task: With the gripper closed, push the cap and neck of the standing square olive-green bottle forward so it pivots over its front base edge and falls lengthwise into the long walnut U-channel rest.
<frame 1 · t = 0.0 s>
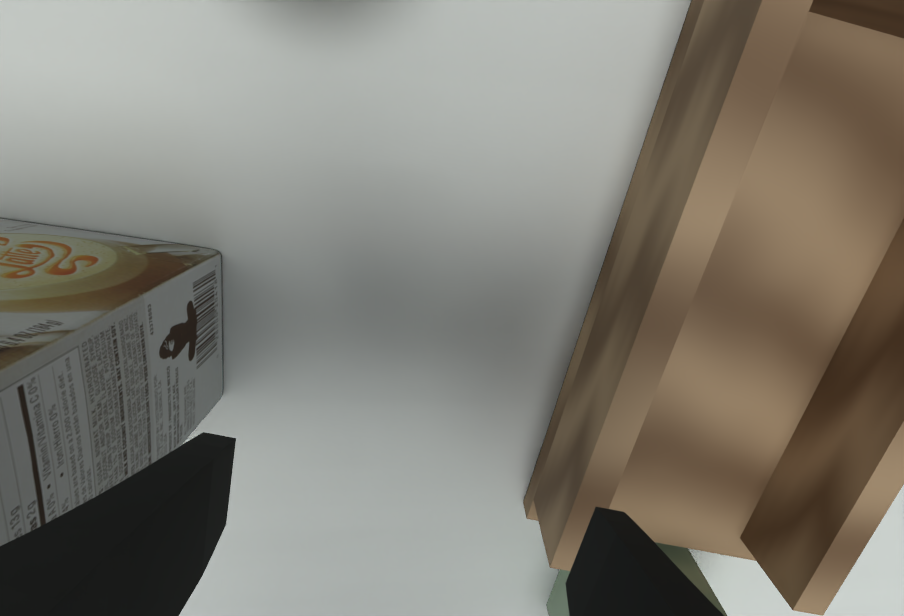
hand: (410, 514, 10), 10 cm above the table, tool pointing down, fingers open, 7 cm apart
cradle: (635, 523, 23), on the table
coffee box: (109, 309, 19), on the table
bottle: (613, 573, 24), on the table
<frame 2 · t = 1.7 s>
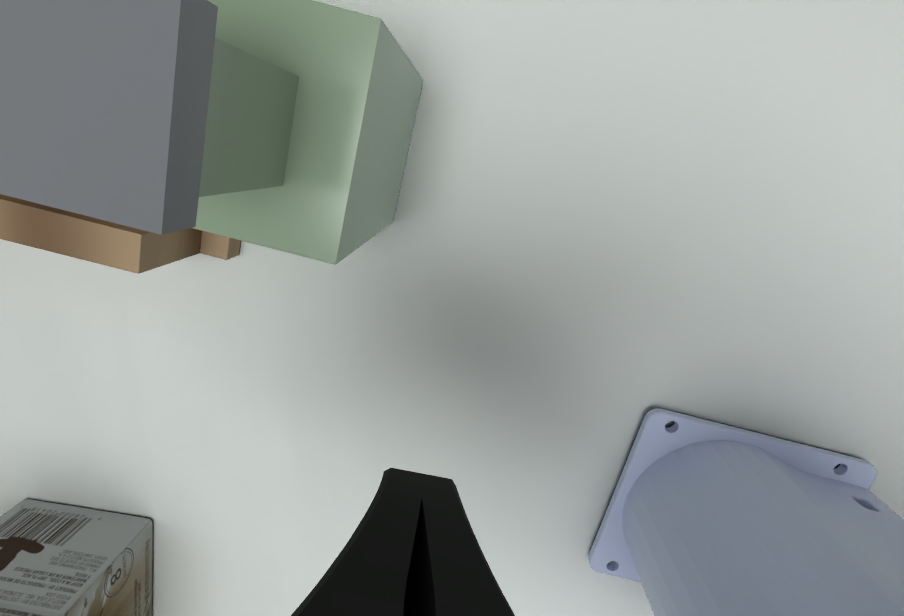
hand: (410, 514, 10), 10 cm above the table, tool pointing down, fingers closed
cradle: (257, 114, 18), on the table
coffee box: (95, 579, 25), on the table
bottle: (339, 136, 18), on the table
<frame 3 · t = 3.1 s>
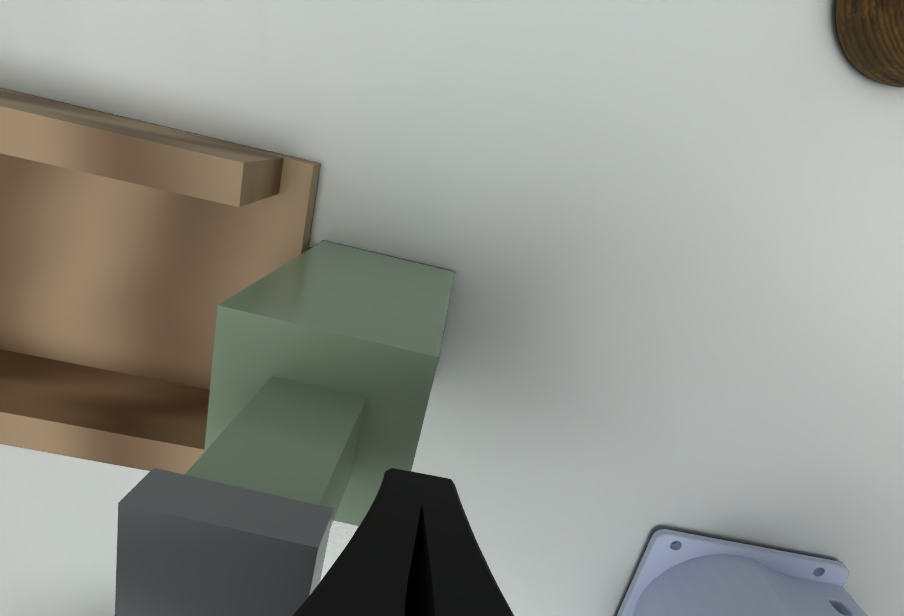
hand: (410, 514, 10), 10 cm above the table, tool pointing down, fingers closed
cradle: (300, 300, 19), on the table
bottle: (377, 318, 20), on the table
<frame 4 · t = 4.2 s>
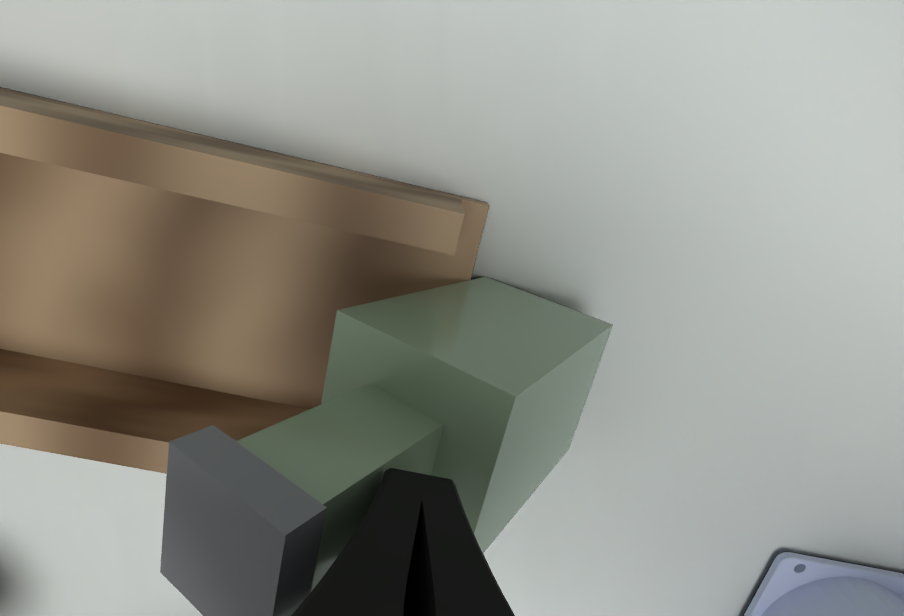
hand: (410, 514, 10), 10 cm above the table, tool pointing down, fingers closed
cradle: (454, 332, 20), on the table
bottle: (526, 361, 19), point 1 cm above the table, tilted 33°, touching cradle
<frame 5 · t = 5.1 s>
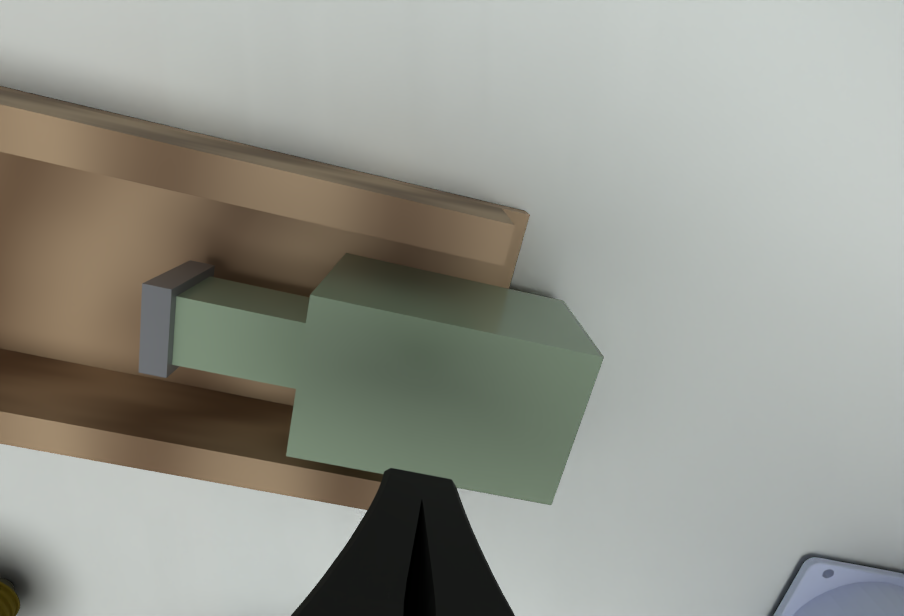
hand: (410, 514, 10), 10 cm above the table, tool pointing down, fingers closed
cradle: (489, 340, 20), on the table
light bulb: (8, 581, 24), on the table
bottle: (557, 393, 17), point 3 cm above the table, tilted 90°, touching cradle
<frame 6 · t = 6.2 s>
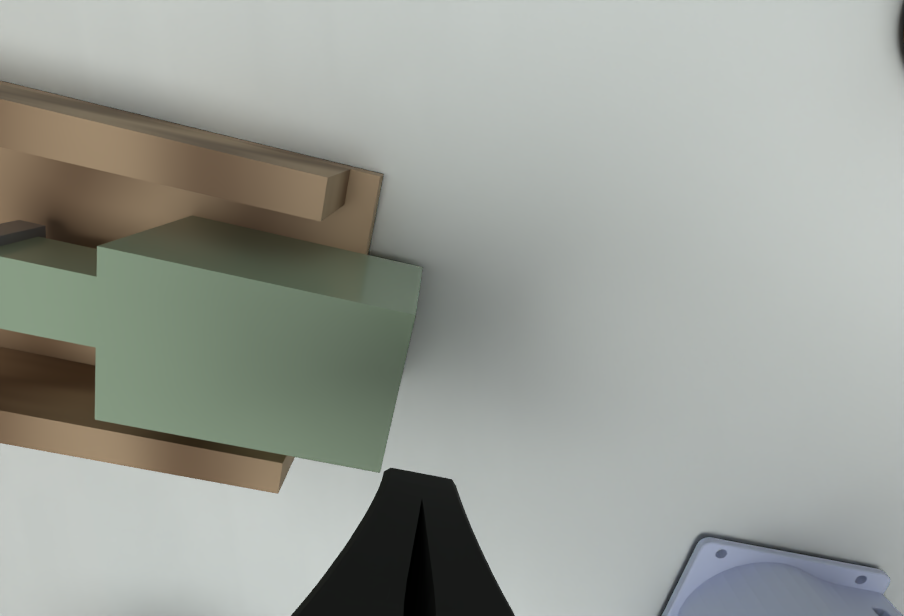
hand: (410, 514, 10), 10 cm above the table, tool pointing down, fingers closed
cradle: (357, 310, 19), on the table
bottle: (403, 360, 16), point 3 cm above the table, tilted 90°, touching cradle
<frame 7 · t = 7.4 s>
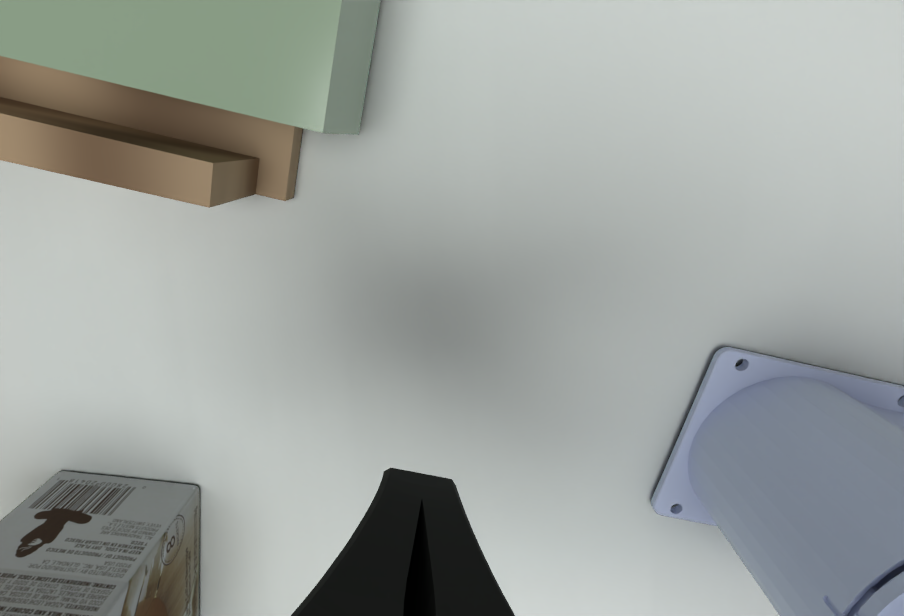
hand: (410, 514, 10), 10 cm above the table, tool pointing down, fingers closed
cradle: (314, 40, 17), on the table
coffee box: (136, 551, 24), on the table
bottle: (358, 37, 13), point 3 cm above the table, tilted 90°, touching cradle
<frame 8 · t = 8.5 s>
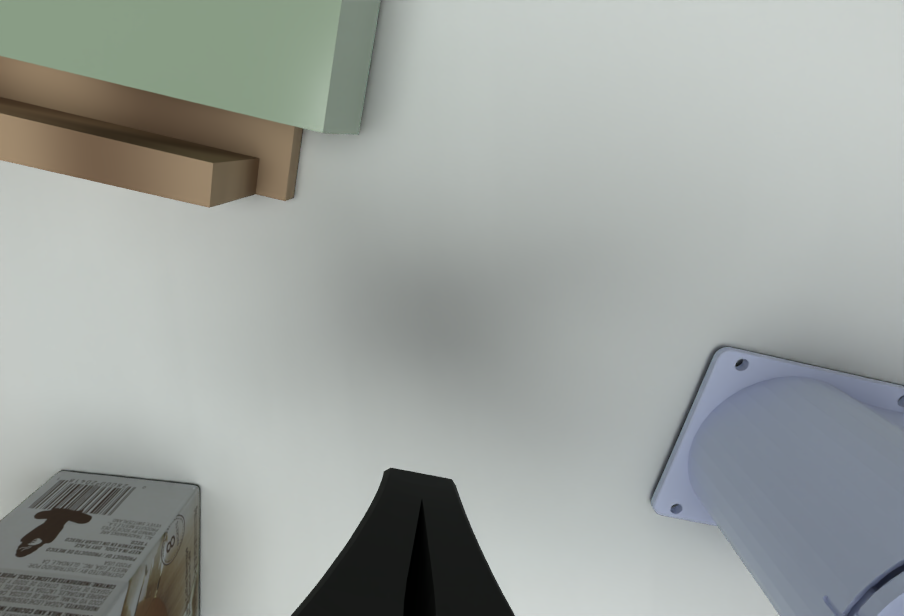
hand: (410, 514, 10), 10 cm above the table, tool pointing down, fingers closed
cradle: (314, 40, 17), on the table
coffee box: (136, 551, 24), on the table
bottle: (358, 37, 13), point 3 cm above the table, tilted 90°, touching cradle
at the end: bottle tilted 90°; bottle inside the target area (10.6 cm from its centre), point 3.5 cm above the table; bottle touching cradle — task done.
